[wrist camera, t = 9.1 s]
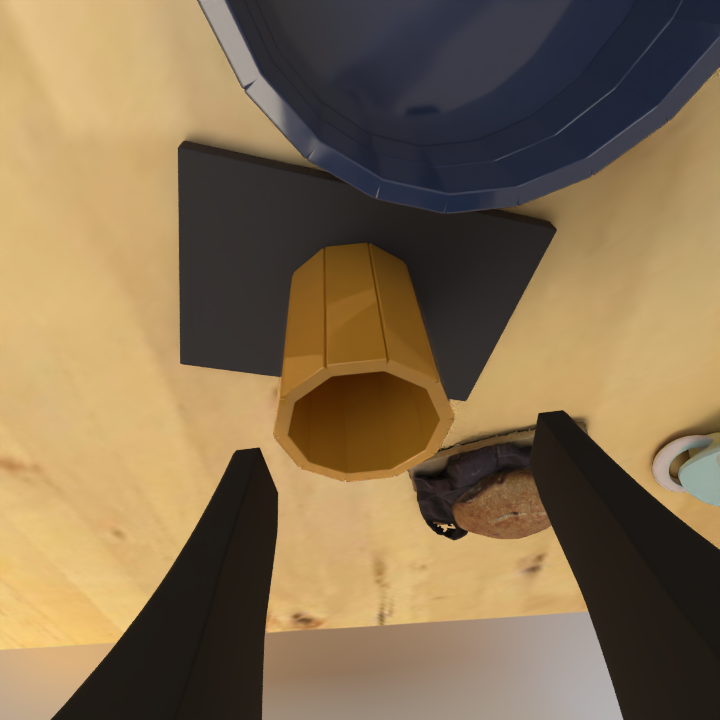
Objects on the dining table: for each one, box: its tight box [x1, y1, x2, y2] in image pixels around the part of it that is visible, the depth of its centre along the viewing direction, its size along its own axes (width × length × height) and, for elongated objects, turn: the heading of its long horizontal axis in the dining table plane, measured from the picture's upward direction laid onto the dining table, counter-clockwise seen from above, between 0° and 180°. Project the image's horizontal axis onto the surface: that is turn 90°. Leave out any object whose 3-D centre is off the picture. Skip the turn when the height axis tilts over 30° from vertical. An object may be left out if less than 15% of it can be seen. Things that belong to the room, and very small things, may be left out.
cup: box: [273, 243, 454, 482], centre depth 17 cm, size 5×6×7 cm
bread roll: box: [407, 422, 587, 540], centre depth 28 cm, size 11×8×4 cm
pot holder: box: [178, 141, 557, 401], centre depth 20 cm, size 14×10×1 cm
